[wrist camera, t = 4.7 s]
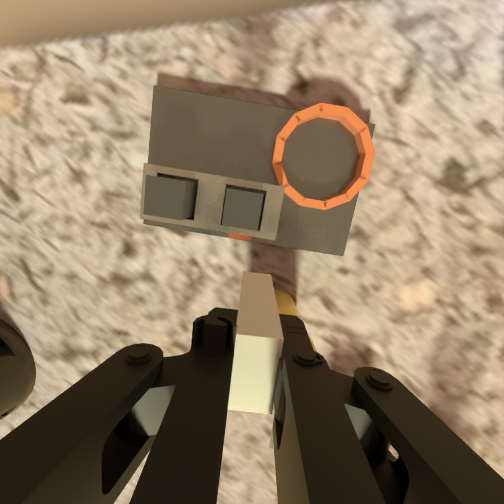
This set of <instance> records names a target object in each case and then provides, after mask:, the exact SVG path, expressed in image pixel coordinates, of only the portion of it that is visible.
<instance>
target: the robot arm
mask: <svg viewBox="0 0 504 504" xmlns="http://www.w3.org/2000/svg"><path fill="white" fill-rule="evenodd" d="M35 379H36V367H35V362H34V358H33V356H32V353H31V351H30V349H29V347H28V345H27V344H26V342H25V341H24V339H23V338H22V337H21V336H20V334H19V333H18V332H17V331H16V330H15V329H14V328H12V327H11V326H10V325H9V324H8V323H6V322H5V321H3V320H2V319H0V419H2V418H4V417H6V416H8V415H9V414H11V413H12V412H13V411H15V410H16V409H17V408H18V407H19V406H20V405H21V404H23V403H24V402H25V401H26V399H27V398H28V397H29V395H30V394H31V392H32V390H33V388H34V384H35ZM273 404H274V409H275V415H274V422H273V428H272V434H271V440H270V446H269V448H273V445H274V455H275V468H276V482H277V496H278V504H504V479H503V478H502V477H501V476H500V475H499V474H498V473H497V472H496V471H494V470H493V469H492V468H491V467H490V466H489V465H488V464H487V463H486V462H485V461H484V460H483V459H482V458H481V457H480V456H479V455H477V454H476V453H475V452H474V451H473V450H472V449H471V448H470V447H469V446H468V445H467V444H466V443H465V442H464V441H463V440H461V439H460V438H459V437H458V436H457V435H456V434H455V433H454V432H453V431H452V430H451V429H450V428H449V427H448V426H447V425H445V424H444V423H443V422H442V421H441V420H440V419H439V418H438V417H437V416H436V415H435V414H434V413H433V412H432V411H431V410H430V409H428V408H427V407H426V406H425V405H424V404H423V403H422V402H421V401H420V400H419V399H418V398H417V397H416V396H415V395H414V394H412V393H411V392H410V391H409V390H408V389H407V388H406V387H405V386H404V385H403V384H402V383H401V382H400V381H399V380H397V379H396V378H395V377H393V376H392V375H391V374H389V373H387V372H385V371H383V370H381V369H377V368H374V367H361V368H358V369H357V370H356V371H355V373H354V377H350V376H347V375H343V374H340V373H338V372H335V371H332V370H331V369H329V366H328V364H327V361H326V360H325V359H324V357H323V356H322V355H320V354H319V353H318V352H316V351H314V349H313V347H312V344H311V341H310V339H309V336H308V333H307V331H306V328H305V325H304V323H303V321H302V320H301V319H300V318H299V317H297V316H295V315H287V314H279V312H278V307H277V302H276V297H275V292H274V287H273V282H272V277H271V274H263V273H254V272H246V271H243V278H242V285H241V293H240V300H239V308H238V310H235V309H226V308H217V307H215V308H214V309H213V310H211V311H210V312H209V313H208V315H205V316H201V317H199V318H197V319H196V320H195V321H194V322H193V331H192V344H191V349H190V351H189V352H188V353H185V354H182V355H178V356H171V357H163V351H162V350H161V349H160V348H159V347H157V346H155V345H153V344H146V343H141V344H140V343H139V344H133V345H130V346H126V347H124V348H123V349H121V350H119V351H117V352H116V353H115V354H114V355H112V356H111V357H110V358H108V359H107V360H106V361H104V362H103V363H102V364H100V365H99V366H98V367H96V368H95V369H94V370H92V371H91V372H90V373H88V374H87V375H86V376H84V377H83V378H82V379H80V380H79V381H78V382H76V383H75V384H74V385H72V386H71V387H70V388H68V389H67V390H66V391H64V392H63V393H62V394H60V395H59V396H58V397H56V398H55V399H54V400H52V401H51V402H50V403H48V404H47V405H46V406H44V407H43V408H42V409H41V410H39V411H38V412H37V413H35V414H34V415H33V416H31V417H30V418H29V419H27V420H26V421H25V422H23V423H22V424H21V425H19V426H18V427H17V428H15V429H14V430H13V431H11V432H10V433H9V434H7V435H6V436H5V437H3V438H2V439H1V440H0V504H114V502H115V501H116V499H117V498H118V496H119V495H120V493H121V492H122V490H123V489H124V487H125V486H126V484H127V483H128V481H129V480H130V479H131V477H132V476H133V474H134V473H135V471H136V470H137V468H138V467H139V465H140V464H141V462H142V461H143V459H144V458H145V456H146V455H147V454H148V452H149V451H150V452H149V455H148V457H147V460H146V463H145V465H144V468H143V470H142V473H141V475H140V478H139V480H138V483H137V485H136V488H135V490H134V493H133V495H132V498H131V500H130V503H129V504H216V503H217V495H218V486H219V478H220V469H221V461H222V453H223V444H224V436H225V427H226V419H227V410H238V411H247V412H256V413H266V414H272V410H273ZM390 444H391V445H392V446H393V448H394V449H395V450H396V451H397V453H398V454H399V457H398V459H396V458H395V457H394V456H393V455H392V454H391V452H390V451H389V446H390ZM150 449H151V450H150Z"/></svg>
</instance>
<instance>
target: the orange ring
mask: <svg viewBox="0 0 504 504" xmlns="http://www.w3.org/2000/svg"><path fill="white" fill-rule="evenodd" d="M317 117H320V118H325V119H331V120H337V121H339V122H340V123H341V124H342V125H344V126H345V127H346V128H347V129H348V130H349V131H350V132H351V133H352V134H353V135H354V137H355V141H356V144H357V148H358V151H359V155H360V157H359V161H358V165H357V170H356V174H355V177H354V179H353V180H352V181H351V182H350V183H349V184H348V185H347V187H346V188H345V189H344V190H343V191H342V192H341V193H340V194H338V195H335V196H332V197H330V198H327V199H324V200H322V201H321V200H315V199H309V198H304V197H303V196H302V195H300V194H299V193H298V192H297V191H296V190H295V189H293V188H292V187H291V186H290V185H289V184H288V182H287V179H286V176H285V173H284V170H283V167H282V164H281V161H282V155H283V150H284V144H285V140H286V139H287V138H288V137H289V135H290V134H291V133H292V131H293V130H294V129H295V128H296V126H297V125H299V124H302V123H304V122H307V121H309V120H312V119H314V118H317ZM374 155H375V151H374V147H373V143H372V140H371V136H370V132H369V128H368V127H367V125H366V124H365V123H364V122H363V121H362V120H361V119H360V118H359V117H358V116H357V115H356V114H355V113H353V112H352V111H351V110H350V109H349V108H348V107H343V106H337V105H332V104H326V103H319V104H316V105H314V106H311V107H309V108H307V109H304V110H302V111H299V112H297V113H295V114H294V115H293V116H292V117H291V119H290V120H289V121H288V123H287V124H286V125H285V126H284V128H283V129H282V130H281V132H280V133H279V134H278V135H277V137H276V140H275V146H274V152H273V158H272V164H271V166H272V169H273V172H274V175H275V178H276V181H277V183H278V186H283V187H285V190H284V194H286V195H287V196H288V197H289V198H290V199H291V200H293V201H294V202H295V203H296V204H297V205H299V206H304V207H310V208H316V209H322V210H327V209H329V208H332V207H335V206H338V205H340V204H343V203H346V202H348V201H350V200H351V199H352V198H353V197H354V196H355V195H356V194H357V192H358V191H359V190H360V189H361V188H362V187H363V186H364V185H365V183H366V182H367V181H368V179H369V175H370V171H371V167H372V163H373V159H374Z"/></svg>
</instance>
